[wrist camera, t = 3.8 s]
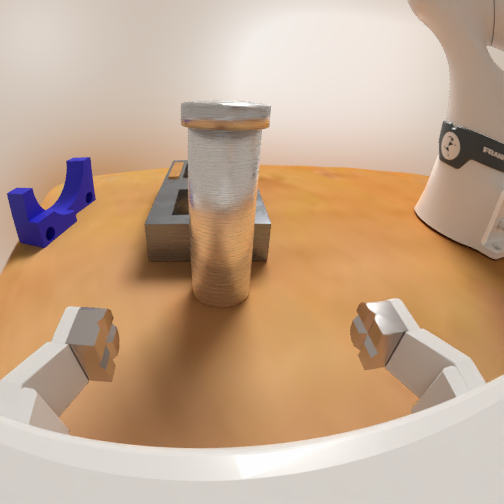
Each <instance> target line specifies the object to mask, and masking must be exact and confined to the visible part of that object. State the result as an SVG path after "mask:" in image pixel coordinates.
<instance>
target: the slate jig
mask: <svg viewBox="0 0 504 504" xmlns="http://www.w3.org/2000/svg"><path fill="white" fill-rule="evenodd" d="M270 229H271V222H270V219H269V217H268V214H267V211H266V209H265V206H264V203H263V201H262V198H261V195H260V193H259V190H258V187H257V200H256V213H255V226H254V239H253V252H252V261H267V257H268V248H269V239H270ZM145 232H146V240H147V248H148V255H149V261H191V252H190V230H189V200H188V160H184V161H182V160H181V161H173V163H172V165H171V167H170V169H169V171H168V173H167V175H166V177H165V179H164V182H163V184H162V186H161V188H160V190H159V192H158V195H157V197H156V199H155V201H154V204H153V206H152V208H151V211H150V213H149V215H148V218H147V220H146V222H145Z"/></svg>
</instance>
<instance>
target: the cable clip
mask: <svg viewBox="0 0 504 504" xmlns="http://www.w3.org/2000/svg"><path fill="white" fill-rule="evenodd" d="M66 162H67V174H66V181H65V185H64V188H63V191H62V193H61V195H60V197H59V198H58V200H57V201H56V203H55V204H54V205H53V206H52V207H50V208H49V209H47V210H44V209H43V208H42V207H41V206H40V205H39V204H38V202H37V200H36V198H35V196H34V193H33V189H32V188H16V189H14V190H12V191H10V192H9V193H7V195H8V200H9V204H10V208H11V212H12V216H13V220H14V223H15V227H16V230H17V234H18V237H19V241H20V243H24V244H29V245H33V246H38V247H42V248H45V247H46V246H47V245H49V244H50V243H51V242H52V241H53V240H55V239H56V238H57V237H58V236H59V235H61V234H62V233H63V232H64V231H65V230H67V229H68V228H69V227H70V226H72V225H73V224H74V223H75V222H77V219H76V214H77V213H78V212H79V211H81V210H82V209H83V208H85V207H86V206H88V205H89V204H90V203H92V202H93V201H95V200H96V199H95V193H94V185H93V178H92V170H91V160H90V157H86V158H72V159H70V160H68V161H66Z"/></svg>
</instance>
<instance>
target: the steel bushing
mask: <svg viewBox="0 0 504 504" xmlns="http://www.w3.org/2000/svg"><path fill="white" fill-rule="evenodd" d="M270 111H271V106H270V105H267V104H262V103H254V102H243V101H193V102H185V103H182V104H181V125H182V126H185V127H188V200H189V230H190V252H191V269H192V285H193V293H194V296H195V297H196V298H197V299H198V300H199V301H200V302H201V303H203V304H205V305H208V306H211V307H217V308H226V307H232V306H235V305H238V304H240V303H241V302H243V301H244V300H245V299H246V298H247V296H248V295H249V290H250V278H251V265H252V252H253V239H254V226H255V213H256V200H257V187H258V174H259V161H260V148H261V147H260V146H261V135H262V129H265V128H268V127H269V123H270Z"/></svg>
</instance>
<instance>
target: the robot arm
mask: <svg viewBox="0 0 504 504" xmlns="http://www.w3.org/2000/svg"><path fill="white" fill-rule="evenodd" d="M408 2H409V5H410V7H411V9H412V10H413V12H414V13H415V15H416V16H417V17H418V18H419V19H420V20H421V21H422V22H423V23H424V24H425V25H426V26H427V27H428V28H429V29H430V30H431V31H432V32H433V33H434V34H435V35H436V37H437V38H438V40H439V41H440V43H441V45H442V47H443V49H444V51H445V54H446V57H447V60H448V64H449V70H450V93H449V94H450V95H449V104H448V112H447V118H446V121H443V125H442V129H441V134H440V138H439V154H438V157H437V159H436V161H435V164H434V167H433V169H432V172H431V175H430V177H429V180H428V182H427V185H426V187H425V189H424V191H423V193H422V195H421V197H420V199H419V201H418V202H417V204H416V205H415V212H416V213H417V215H418V216H419V217H420V218H421V219H422V220H423V221H424V222H425V223H427V224H428V225H429V226H431V227H432V228H434V229H435V230H437V231H438V232H440V233H442V234H443V235H445V236H447V237H449V238H451V239H453V240H455V241H457V242H459V243H462V244H464V245H467V246H469V247H472V248H474V249H476V250H478V251H480V252H481V253H483V254H485V255H487V256H488V257H490V258H492V259H499V258H502V257H504V144H502V143H504V71H503V70H502V69H500V67H498V65H497V64H496V63H495V62H494V61H493V59H492V58H491V56H490V55H489V53H488V50H487V48H486V46H492V47H494V48H497V49H500V50H502V51H504V0H408ZM447 121H449V122H447ZM450 122H452V123H450ZM453 123H455V124H453ZM456 124H457V125H456ZM458 125H460V126H458ZM461 126H463V127H461ZM464 127H465V128H464ZM466 128H468V129H466ZM469 129H471V130H469ZM472 130H473V131H472ZM474 131H476V132H474ZM477 132H478V133H477ZM479 133H481V134H483V135H481V134H479ZM484 135H485V136H484ZM486 136H488V137H490V138H488V137H486ZM491 138H493V139H495V140H493V139H491ZM496 140H497V141H496ZM498 141H499V142H498ZM500 142H501V143H500ZM357 313H358V316H357V317H356V318H355V319H354V320H353V321H352V324H351V328H350V335H351V340H352V343H353V345H354V346H355V347H356V348H358V349H359V350H360V351H359V355H358V356H359V359H360V361H361V363H362V365H363V368H364V370H369V369H375V368H381V367H385V368H386V369H387V370H388V371H389V372H390V373H391V374H392V375H394V376H395V377H396V378H397V379H398V380H399V381H400V382H402V383H403V384H404V385H405V386H406V387H407V388H408V389H409V390H411V391H412V392H413V393H414V394H415V395H416V396H417V397H419V400H418V401H417V402H416V403H415V404H414V405H413V407H412V409H411V411H412V413H413V414H410V415H407V416H404V417H401V418H398V419H394V420H391V421H388V422H384V423H381V424H377V425H373V426H369V427H366V428H362V429H357V430H353V431H349V432H344V433H340V434H335V435H330V436H325V437H319V438H314V439H308V440H301V441H294V442H287V443H279V444H270V445H259V446H247V447H230V448H169V447H152V446H140V445H130V444H121V443H113V442H106V441H100V440H94V439H88V438H82V437H77V436H72V435H69V432H70V430H69V428H68V427H67V426H66V425H65V424H64V423H63V422H62V420H61V419H60V418H59V417H60V415H61V414H62V413H63V412H64V411H65V409H66V408H67V407H68V406H69V405H70V403H71V402H72V401H73V400H74V399H75V398H76V396H77V395H78V394H79V393H80V392H81V390H82V389H83V388H84V387H85V386H86V385H87V383H88V382H89V380H92V381H104V382H112V379H113V375H114V370H115V364H114V361H113V359H114V358H115V357H116V356H117V355H118V352H119V333H118V330H117V327H116V326H114V325H113V324H112V321H113V315H112V312H111V310H109V309H102V308H88V307H71V306H69V307H67V308H66V309H65V311H64V313H63V316H62V318H61V320H60V322H59V324H58V327H57V329H56V331H55V334H54V336H53V338H52V341H51V342H47V343H45V344H44V345H43V346H42V347H40V348H39V349H38V350H37V351H35V352H34V353H33V354H32V355H30V356H29V357H28V358H27V359H26V360H24V361H23V362H22V363H21V364H19V365H18V366H17V367H16V368H15V369H13V370H12V371H11V372H10V373H9V374H7V375H6V376H5V377H4V378H3V379H2V380H1V381H0V504H504V374H503V375H501V376H500V377H498V378H496V379H494V380H492V381H490V382H488V383H486V382H485V381H484V379H483V377H482V376H481V374H480V372H479V371H478V369H477V367H476V366H475V364H474V363H473V361H472V359H471V358H470V357H468V356H466V355H465V354H463V353H462V352H460V351H459V350H457V349H455V348H454V347H452V346H451V345H449V344H447V343H446V342H444V341H443V340H441V339H439V338H438V337H436V336H435V335H433V334H431V333H430V332H428V331H427V330H425V329H420V328H419V326H418V325H417V323H416V322H415V320H414V319H413V317H412V316H411V314H410V313H409V311H408V310H407V308H406V307H405V305H404V304H403V302H402V301H401V300H400V299H398V298H395V299H386V300H378V301H368V302H361V303H360V304H359V306H358V308H357Z"/></svg>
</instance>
